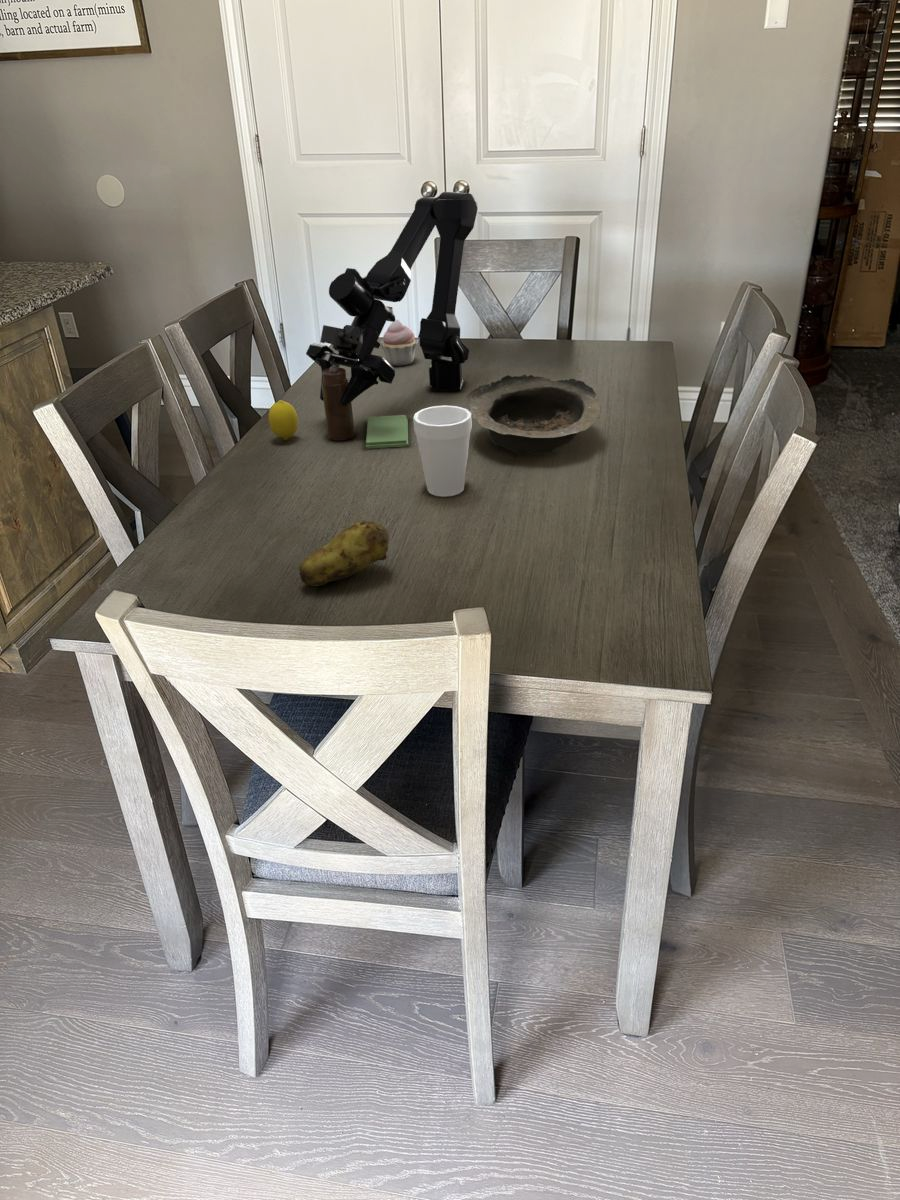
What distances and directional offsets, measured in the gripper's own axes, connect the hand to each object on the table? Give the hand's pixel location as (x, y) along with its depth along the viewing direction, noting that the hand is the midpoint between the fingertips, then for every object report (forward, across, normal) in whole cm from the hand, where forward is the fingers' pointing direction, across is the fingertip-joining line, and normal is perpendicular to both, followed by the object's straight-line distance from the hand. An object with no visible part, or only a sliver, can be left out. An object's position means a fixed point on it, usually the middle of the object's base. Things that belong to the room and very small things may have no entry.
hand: (332, 402), depth 165 cm
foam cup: (+10, +32, +1) cm, 33 cm away
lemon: (+9, -8, +1) cm, 12 cm away
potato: (+31, +38, -21) cm, 54 cm away
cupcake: (-25, -21, +37) cm, 49 cm away
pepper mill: (+4, 0, +6) cm, 7 cm away
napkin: (0, +7, +10) cm, 12 cm away
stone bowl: (-8, +33, +19) cm, 39 cm away
